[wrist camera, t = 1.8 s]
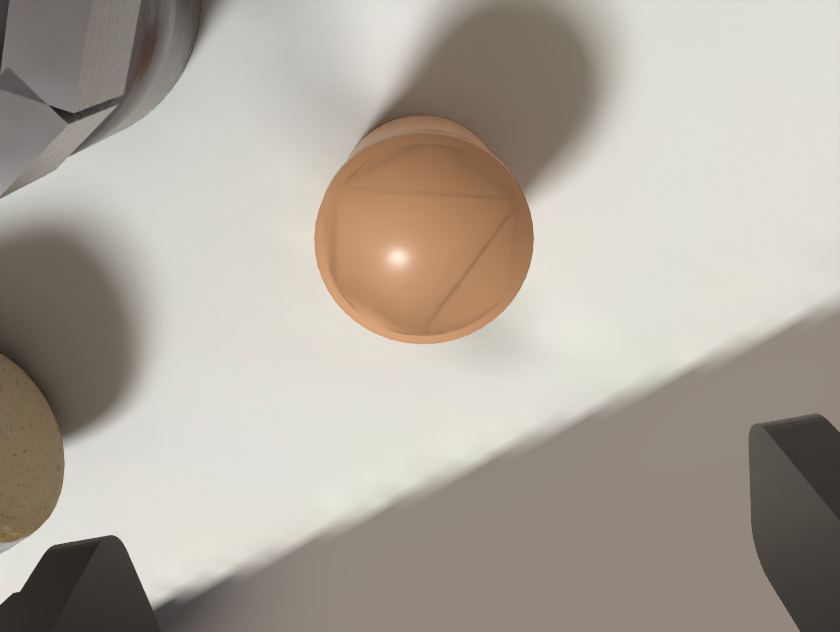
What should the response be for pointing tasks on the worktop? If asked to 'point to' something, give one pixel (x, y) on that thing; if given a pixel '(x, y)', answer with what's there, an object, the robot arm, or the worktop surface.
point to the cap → (423, 232)
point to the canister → (82, 74)
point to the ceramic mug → (26, 456)
